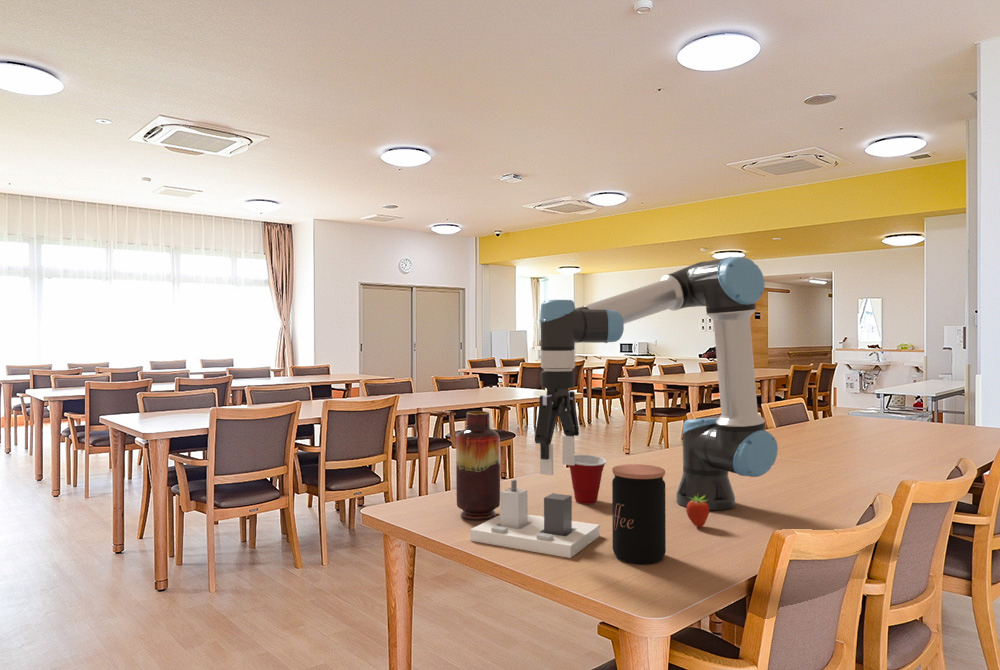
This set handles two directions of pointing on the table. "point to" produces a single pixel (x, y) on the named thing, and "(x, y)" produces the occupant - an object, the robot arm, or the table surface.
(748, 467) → the robot arm
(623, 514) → the coffee jar
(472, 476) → the vase
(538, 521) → the white peg board
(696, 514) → the fruit
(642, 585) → the table surface
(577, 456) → the plastic cup
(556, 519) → the dark grey block
